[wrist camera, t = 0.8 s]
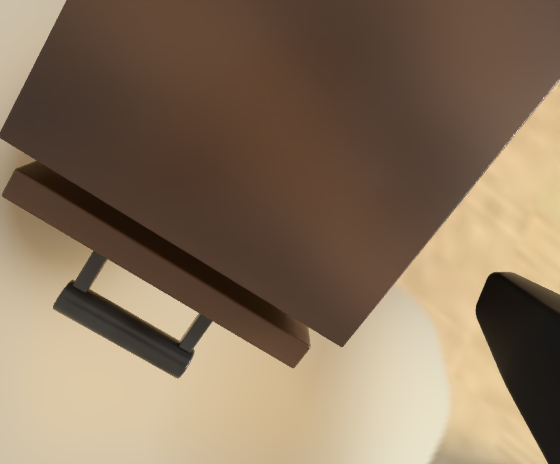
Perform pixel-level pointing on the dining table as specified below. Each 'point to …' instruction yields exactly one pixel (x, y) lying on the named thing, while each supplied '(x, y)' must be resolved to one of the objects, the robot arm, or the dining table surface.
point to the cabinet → (288, 128)
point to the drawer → (148, 278)
